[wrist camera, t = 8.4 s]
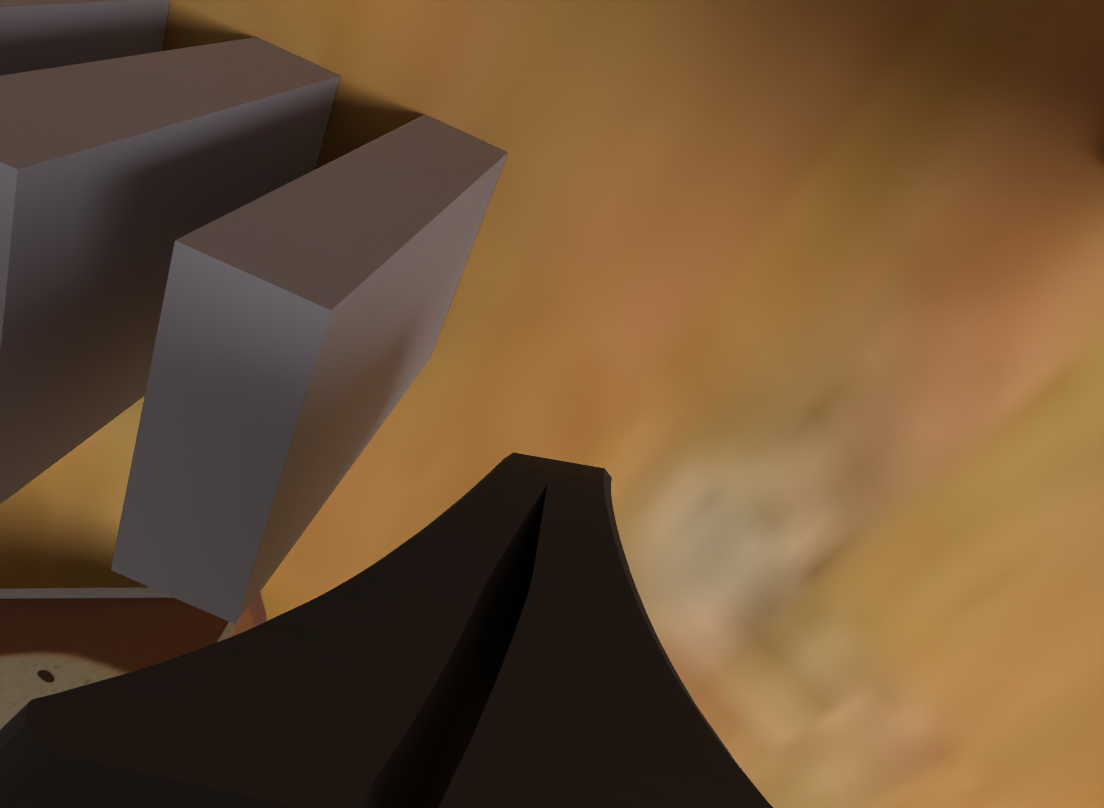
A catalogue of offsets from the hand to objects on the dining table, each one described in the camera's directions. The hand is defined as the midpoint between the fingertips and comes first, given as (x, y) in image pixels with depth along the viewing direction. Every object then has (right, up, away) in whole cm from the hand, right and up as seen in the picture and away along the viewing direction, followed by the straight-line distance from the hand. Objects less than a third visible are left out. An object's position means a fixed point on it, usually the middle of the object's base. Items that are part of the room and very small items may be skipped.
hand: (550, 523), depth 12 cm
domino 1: (-2, +5, +5) cm, 7 cm away
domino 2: (-5, +6, +5) cm, 9 cm away
